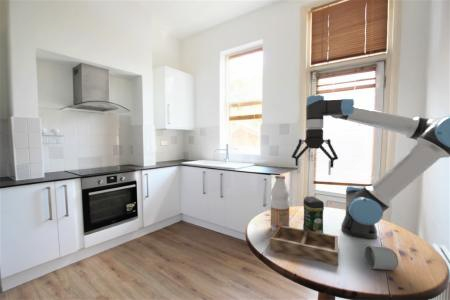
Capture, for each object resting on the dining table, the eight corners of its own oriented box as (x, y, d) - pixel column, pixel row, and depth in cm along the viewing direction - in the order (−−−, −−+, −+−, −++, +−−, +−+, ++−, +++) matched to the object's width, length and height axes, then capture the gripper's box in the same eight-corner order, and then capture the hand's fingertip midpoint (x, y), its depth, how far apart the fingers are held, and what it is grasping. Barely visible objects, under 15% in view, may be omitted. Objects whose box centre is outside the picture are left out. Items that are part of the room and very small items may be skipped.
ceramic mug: (399, 274, 75) (400, 252, 74) (374, 273, 76) (375, 251, 75) (381, 258, 85) (381, 239, 85) (359, 257, 86) (359, 238, 86)
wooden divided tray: (337, 247, 93) (338, 235, 93) (338, 265, 80) (338, 252, 80) (278, 235, 105) (278, 225, 105) (269, 249, 92) (270, 238, 91)
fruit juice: (267, 230, 111) (267, 176, 110) (274, 224, 119) (275, 173, 117) (285, 234, 106) (285, 178, 104) (291, 228, 113) (292, 175, 112)
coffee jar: (300, 231, 109) (301, 195, 108) (315, 230, 110) (316, 194, 109) (309, 240, 100) (310, 200, 99) (326, 239, 100) (326, 200, 99)
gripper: (344, 128, 100) (343, 174, 101) (289, 129, 111) (288, 170, 112) (344, 128, 93) (343, 176, 94) (286, 129, 105) (285, 172, 106)
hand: (313, 173), depth 103 cm, fingers open, 13 cm apart
